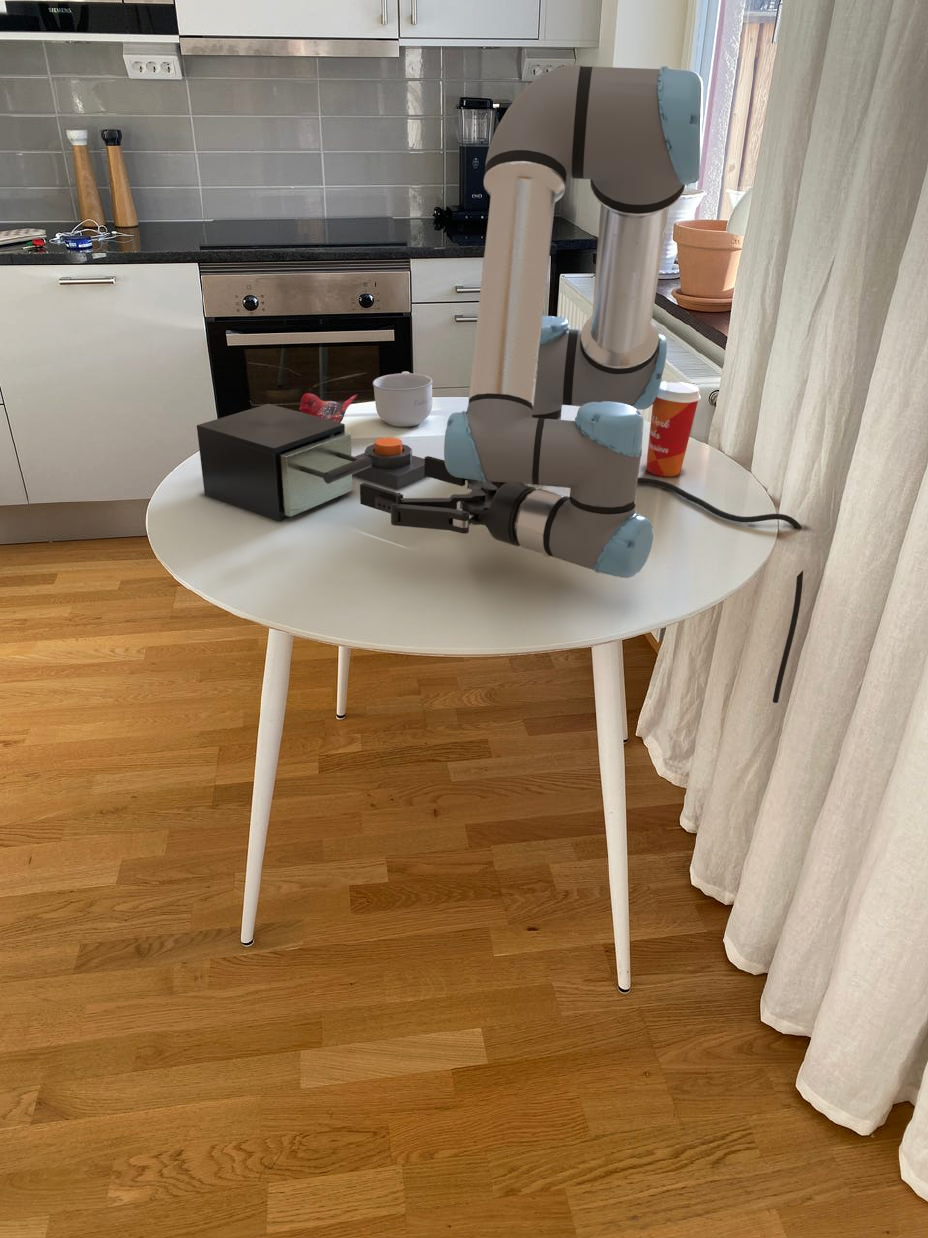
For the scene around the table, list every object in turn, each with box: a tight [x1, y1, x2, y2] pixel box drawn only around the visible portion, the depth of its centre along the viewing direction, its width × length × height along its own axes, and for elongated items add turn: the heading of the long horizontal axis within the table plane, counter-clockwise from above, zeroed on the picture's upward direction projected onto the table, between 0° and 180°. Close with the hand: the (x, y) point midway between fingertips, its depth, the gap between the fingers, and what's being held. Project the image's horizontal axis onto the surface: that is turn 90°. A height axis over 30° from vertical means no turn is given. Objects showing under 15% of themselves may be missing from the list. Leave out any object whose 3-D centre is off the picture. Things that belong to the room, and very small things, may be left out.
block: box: [352, 443, 427, 490], centre depth 149 cm, size 11×9×4 cm
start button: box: [373, 436, 403, 455], centre depth 148 cm, size 4×4×2 cm
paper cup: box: [646, 380, 702, 477], centre depth 151 cm, size 8×8×14 cm
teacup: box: [372, 371, 433, 428], centre depth 174 cm, size 14×11×8 cm
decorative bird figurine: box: [298, 392, 358, 423], centre depth 161 cm, size 3×18×10 cm, turn 154°
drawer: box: [279, 431, 372, 518], centre depth 136 cm, size 21×13×9 cm, turn 54°
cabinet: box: [196, 403, 346, 522], centre depth 139 cm, size 16×14×11 cm
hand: (395, 478), depth 126 cm, fingers open, 13 cm apart
